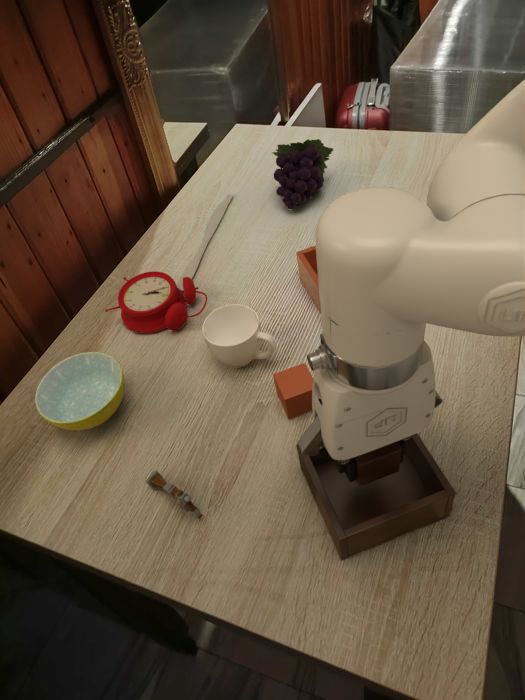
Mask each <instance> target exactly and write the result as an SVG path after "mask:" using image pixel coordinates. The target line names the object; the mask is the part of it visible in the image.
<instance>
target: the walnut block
mask: <svg viewBox="0 0 525 700" xmlns="http://www.w3.org/2000/svg"><path fill="white" fill-rule="evenodd" d="M400 457H401V448H400V447H399V445H398V443H397V442H394V443H391V444H389V445H386V446H383V447H381V448H378V449H375V450H373V451H370V452H367V453H365V454H362V455H359V456H356V457H354V459H355V462H356V479H355V480H356V482H357V484H358V486H359V487H361V486H363V485H366V484H368V483H371V482H373V481H376V480H379V479H381V478H384V477H386V476H389V475H391V474H394V473H396V472H399V466H400Z"/></svg>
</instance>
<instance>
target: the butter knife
mask: <svg viewBox="0 0 525 700" xmlns="http://www.w3.org/2000/svg"><path fill="white" fill-rule="evenodd" d="M233 196H234V195H233V194H228V195H227V196H226V197H225V198H224V199H223V200H222V201H221V202H220V203H219V204H218V206H216V207H215V209H213V211H212V213H211V216H210V217H209V220H208V222H207V225H206V228H205V231H204V235H203V238H202V241H201V244H200V245H199V248H198V249H197V251H196V253H195V255H194V256H193V257H192V259H191V261H190V262H189V263H188V265H187V267H186V268H185V270H184V272H183V273H182V275H181V276H180V278H179V280H178V281H177V283H176V286H177V287H178V288H179V289H180V290H181V291H182V292H184V289H183V278H184V277H189V278H191V279H192V280H193V277H194V275H195V273H196V271H197V269H198V267H199V264H200V262H201V260H202V257H203V255H204V252H205V250H206V249H207V246H208V243H209V241H210V240H211V238H212V236H213V235H214V233H215V231H216V230H217V227H218V225H219V224H220V222H221V220H222V218H223V216H224V214H225V212H226V210H227V208H228V206H229V204H230V202H231V200H232V199H233Z"/></svg>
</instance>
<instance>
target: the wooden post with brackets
mask: <svg viewBox="0 0 525 700" xmlns="http://www.w3.org/2000/svg"><path fill="white" fill-rule="evenodd" d="M145 482H146V483H147V485H148V486H149V487H150V489H152V491H156V490H157V489H160V490H163V491H164V492H165V493H166V494H169V496H171V497H172V498H176V499H177V500H178V501H179V503H178V506H179V507H180V508H181V509H182V510H184V511H185V512H186V513H189V512H190V513H191V514H192V515H194V516H195V518H196V519H198V520H201V519H202V517H203V516H204V514H203V513H202V512H201V509H199V508H198V506H196V505H195V504H194V502H193V501H192V500H191V499H192V497H191V495H190V494H188V492H186V491H184V490H183V489H182V488H181V489H179V487H177V486H176V485H175V484H172V483H171V482H169V481H166V480H165V478H164V477H163V476H162V475H161V473H160V472H159V470H157V469H155V470H154V471H153V472H152V473H151V474H150V475H149V476H148V477H147V478H146V479H145Z"/></svg>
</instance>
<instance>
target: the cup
mask: <svg viewBox="0 0 525 700" xmlns="http://www.w3.org/2000/svg"><path fill="white" fill-rule="evenodd" d="M261 327H262V326H261V321H260V317H259V315H258V313H257V312H256V311H255V310H254V308H252V307H250V306H248V305H245V304H242V303H241V304H240V303H229V304H226V305H225V304H224V305H222V306H220V307H217V308H215V309H214V310H212V311H211V312H210V313H209V314H208V315H207V316H206V317H205V319H204V320H203V323H202V326H201V331H202V336H203V338H204V342H205V344H206V346H207V349H208V350H209V352H210V353H211V354H212V355H213V357H215V359H217V361H219V362H220V363H222V364H223V365H225V366H227V367H231V368H234V369H235V368H237V369H239V368H243V367H246V366H248V365H250V363H252V361H254V360H257V359H258V360H265V359H267V358H270V357H271V356H273V355H274V353H275V352H276V351H277V342H276V340H275V338H274V337H273V335H271V334H269V333H267V332H265V331H262V328H261ZM262 341H264V342H266V344H267V345H268V347H269V348H268V349H266V350H265V351H260V348H261V343H262Z"/></svg>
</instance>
